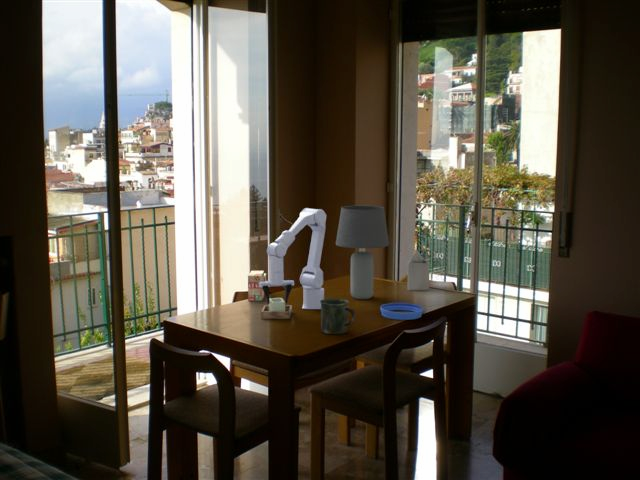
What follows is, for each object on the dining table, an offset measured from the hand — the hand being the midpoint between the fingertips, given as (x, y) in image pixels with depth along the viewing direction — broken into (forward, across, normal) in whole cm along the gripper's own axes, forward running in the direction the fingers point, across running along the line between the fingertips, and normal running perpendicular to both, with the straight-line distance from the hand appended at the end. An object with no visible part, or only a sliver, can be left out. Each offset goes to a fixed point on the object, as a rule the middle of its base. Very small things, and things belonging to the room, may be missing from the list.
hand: (277, 302), depth 291 cm
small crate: (+5, 0, 0) cm, 5 cm away
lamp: (+6, -46, -24) cm, 52 cm away
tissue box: (+6, -82, -36) cm, 89 cm away
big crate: (+5, 0, 0) cm, 5 cm away
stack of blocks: (+6, +1, -40) cm, 40 cm away
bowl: (+6, -51, +13) cm, 53 cm away
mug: (+6, -17, +32) cm, 37 cm away
